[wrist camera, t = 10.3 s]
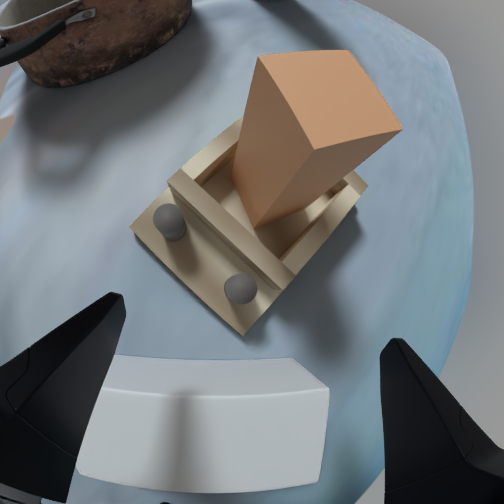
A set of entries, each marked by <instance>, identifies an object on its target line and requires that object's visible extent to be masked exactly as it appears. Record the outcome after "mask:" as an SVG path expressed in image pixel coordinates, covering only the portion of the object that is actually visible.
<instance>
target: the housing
mask: <svg viewBox="0 0 504 504" xmlns="http://www.w3.org/2000/svg"><path fill="white" fill-rule="evenodd" d="M243 117H244V116H242V117H241V118H240V119H238V120H237V121H236V122H235V123H233V124H232V125H231V126H229V127H228V128H227V129H226V130H224V131H223V132H222V133H221V134H220V135H218V136H217V137H216V138H215V139H213V140H212V141H211V142H210V143H209V144H208V145H206V146H205V147H204V148H203V149H202V150H201V151H199V152H198V153H197V154H196V155H195V156H194V157H193V158H191V159H190V160H189V161H188V162H187V163H186V164H185V165H184V166H182V167H181V168H180V169H179V170H178V171H177V172H176V173H175V174H174V175H173V176H172V177H171V178H169V179H168V180H167V183H168V185H169V187H168V188H167V189H166V190H165V191H164V192H163V193H162V194H161V195H160V196H159V197H158V198H157V199H156V200H155V201H154V202H153V203H152V204H151V205H150V206H149V207H148V208H147V209H146V210H145V211H144V212H143V213H142V214H141V215H140V216H139V217H138V218H137V219H136V220H135V221H134V222H133V223H132V224H131V226H130V229H131V230H132V231H133V232H134V233H135V234H136V235H137V236H138V237H139V238H140V239H141V240H142V241H143V242H144V243H145V244H146V245H147V246H148V247H149V248H150V249H151V250H152V251H153V252H154V253H155V255H156V256H157V257H158V258H159V259H160V260H161V261H162V262H163V263H164V264H165V265H166V266H167V267H168V268H170V269H171V270H172V271H173V272H174V273H175V274H176V275H177V276H178V277H179V278H180V279H181V280H182V281H183V282H184V283H185V284H186V285H187V286H188V287H189V288H190V289H191V290H192V291H193V292H194V293H195V294H197V295H198V296H199V297H200V298H201V299H202V300H203V301H204V302H205V303H206V304H207V305H208V306H209V307H211V308H212V309H213V310H214V311H215V312H216V313H217V314H218V315H219V316H220V317H222V318H223V319H224V320H225V321H226V322H227V323H228V324H229V325H231V326H232V327H233V328H234V329H235V330H236V331H237V332H239V333H240V334H241V335H242V336H243V335H244V334H245V333H246V332H247V331H248V329H249V328H250V327H251V326H252V325H253V324H254V323H255V322H256V321H257V320H258V318H259V317H260V316H261V315H262V314H263V313H264V312H265V311H266V310H267V308H268V307H269V306H270V305H271V304H272V303H273V302H274V301H275V299H276V298H277V297H278V296H279V295H280V294H281V293H282V291H283V290H284V289H285V288H286V287H287V286H288V285H289V283H290V282H291V281H292V280H293V279H294V278H295V276H296V275H297V274H298V273H299V272H300V271H301V269H302V268H303V267H304V266H305V265H306V264H307V262H308V261H309V260H310V259H311V258H312V256H313V255H314V254H315V253H316V252H317V250H318V249H319V248H320V247H321V246H322V244H323V243H324V242H325V241H326V240H327V238H328V237H329V236H330V235H331V233H332V232H333V231H334V230H335V228H336V227H337V226H338V225H339V223H340V222H341V221H342V220H343V218H344V217H345V216H346V215H347V213H348V212H349V211H350V210H351V208H352V207H353V206H354V205H355V203H356V202H357V201H358V199H359V197H360V196H361V195H362V194H363V192H364V191H365V190H366V188H367V187H368V185H367V184H366V183H365V182H364V181H363V180H362V178H361V177H360V176H359V175H358V174H357V173H356V172H355V171H354V170H352V171H351V172H350V173H349V174H347V175H346V176H345V177H344V178H343V179H341V180H340V181H339V182H338V183H336V184H335V185H334V186H333V187H331V188H330V189H329V190H328V191H327V192H325V193H324V194H323V195H322V196H320V197H319V198H318V199H317V200H315V201H314V202H313V203H312V204H311V205H309V206H308V207H307V208H306V209H304V210H301V211H299V212H296V213H293V214H291V215H288V216H286V217H283V218H280V219H278V220H275V221H273V222H270V223H267V224H265V225H262V226H260V227H257V228H255V229H253V227H252V225H251V222H250V220H249V218H248V215H247V213H246V211H245V208H244V206H243V204H242V201H241V199H240V197H239V194H238V192H237V190H236V187H235V185H234V183H233V180H232V178H231V174H232V169H233V164H234V159H235V154H236V149H237V145H238V140H239V135H240V131H241V126H242V122H243Z"/></svg>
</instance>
